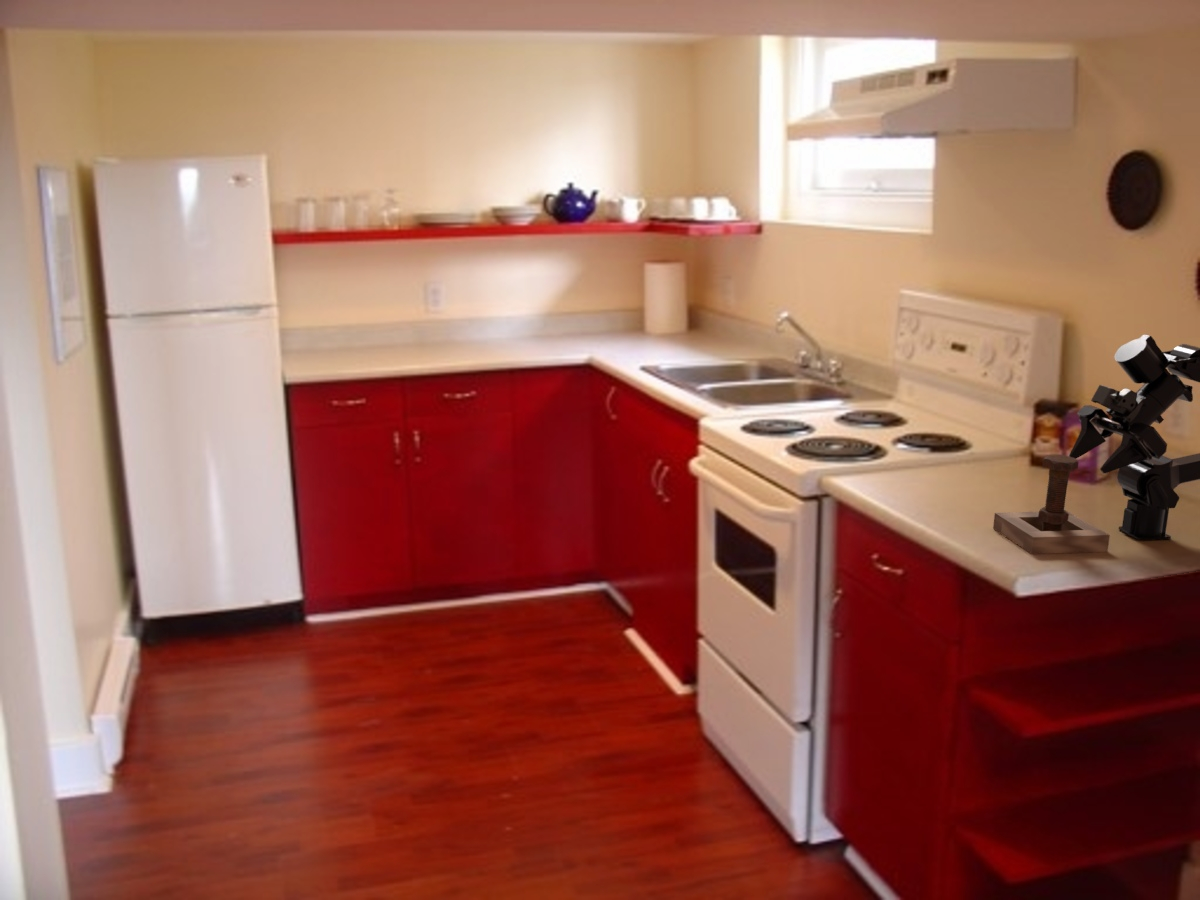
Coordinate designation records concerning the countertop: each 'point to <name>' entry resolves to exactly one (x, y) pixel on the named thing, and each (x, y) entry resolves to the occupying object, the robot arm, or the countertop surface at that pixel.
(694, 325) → the countertop surface
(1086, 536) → the jig
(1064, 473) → the bolt
